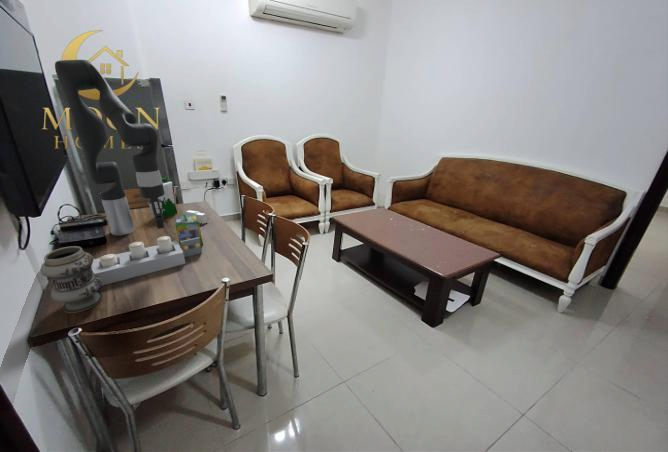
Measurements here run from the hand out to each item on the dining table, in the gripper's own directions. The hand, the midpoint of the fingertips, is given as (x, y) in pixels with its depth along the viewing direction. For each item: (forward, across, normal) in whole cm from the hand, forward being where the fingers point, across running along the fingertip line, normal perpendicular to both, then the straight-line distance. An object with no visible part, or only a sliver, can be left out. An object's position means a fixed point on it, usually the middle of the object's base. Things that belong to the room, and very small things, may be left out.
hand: (160, 227), depth 110 cm
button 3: (+10, 0, 0) cm, 10 cm away
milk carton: (+14, -56, +8) cm, 59 cm away
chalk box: (+15, -12, +11) cm, 22 cm away
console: (+14, 0, -9) cm, 17 cm away
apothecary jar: (+15, +14, -26) cm, 33 cm away
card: (+14, 0, +9) cm, 17 cm away
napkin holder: (+15, -37, +19) cm, 44 cm away
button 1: (+12, 0, -18) cm, 22 cm away
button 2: (+10, 0, -9) cm, 13 cm away
